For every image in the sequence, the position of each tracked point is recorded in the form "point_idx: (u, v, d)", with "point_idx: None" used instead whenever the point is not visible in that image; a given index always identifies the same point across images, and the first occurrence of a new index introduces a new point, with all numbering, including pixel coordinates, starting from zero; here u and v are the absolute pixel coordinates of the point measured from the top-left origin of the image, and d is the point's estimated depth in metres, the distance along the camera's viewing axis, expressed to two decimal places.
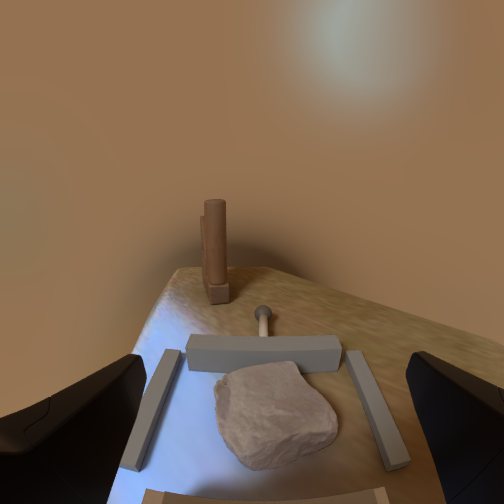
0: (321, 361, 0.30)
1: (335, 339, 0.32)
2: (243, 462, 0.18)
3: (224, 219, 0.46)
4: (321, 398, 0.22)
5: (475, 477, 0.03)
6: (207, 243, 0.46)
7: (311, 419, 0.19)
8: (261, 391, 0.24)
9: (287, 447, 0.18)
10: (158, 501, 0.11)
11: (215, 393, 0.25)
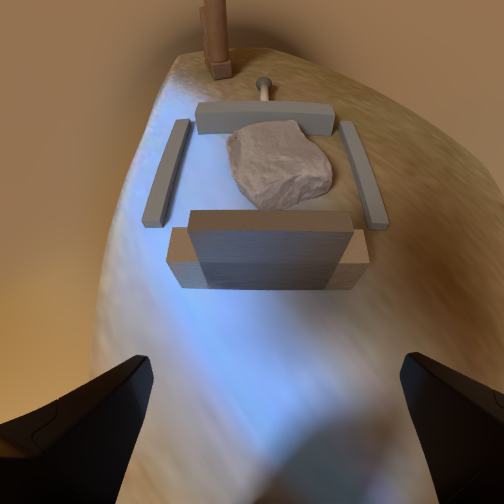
0: (316, 124, 0.33)
1: (329, 107, 0.33)
2: (254, 202, 0.27)
3: (224, 7, 0.32)
4: (319, 150, 0.28)
5: (468, 481, 0.03)
6: (208, 28, 0.35)
7: (310, 164, 0.26)
8: (267, 142, 0.29)
9: (290, 188, 0.27)
10: (183, 236, 0.21)
11: (228, 146, 0.30)
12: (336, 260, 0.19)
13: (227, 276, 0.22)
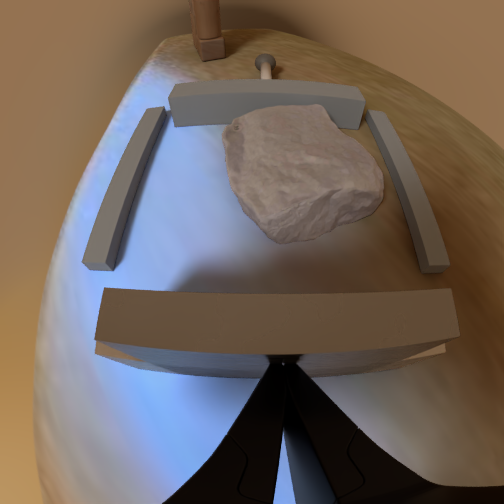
0: (339, 113, 0.23)
1: (356, 91, 0.22)
2: (267, 231, 0.17)
3: None
4: (363, 148, 0.18)
5: None
6: None
7: (355, 171, 0.16)
8: (284, 134, 0.19)
9: (324, 209, 0.17)
10: None
11: (224, 140, 0.20)
12: (399, 359, 0.09)
13: (203, 372, 0.12)
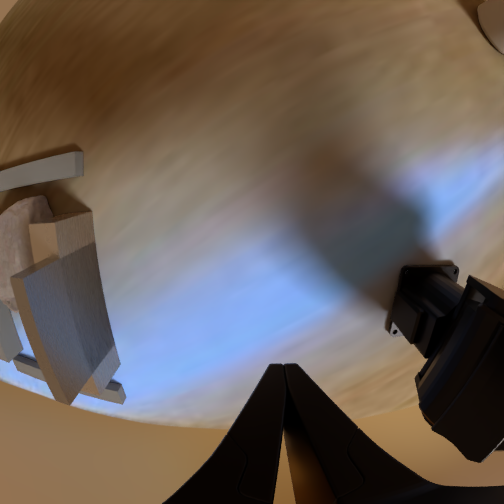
0: None
1: None
2: None
3: None
4: (2, 216, 0.17)
5: None
6: None
7: (18, 232, 0.16)
8: (5, 273, 0.18)
9: None
10: None
11: (18, 310, 0.20)
12: (56, 264, 0.15)
13: (98, 341, 0.20)
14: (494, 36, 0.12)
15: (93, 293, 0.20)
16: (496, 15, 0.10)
